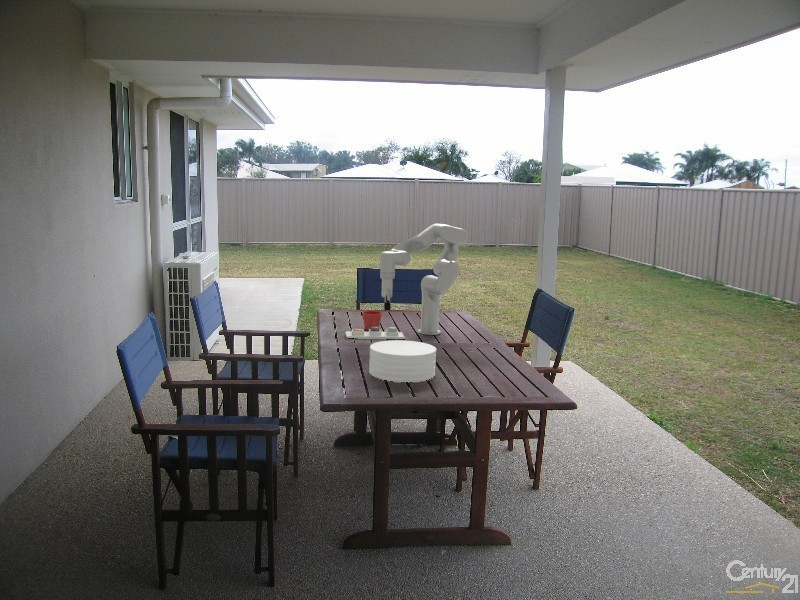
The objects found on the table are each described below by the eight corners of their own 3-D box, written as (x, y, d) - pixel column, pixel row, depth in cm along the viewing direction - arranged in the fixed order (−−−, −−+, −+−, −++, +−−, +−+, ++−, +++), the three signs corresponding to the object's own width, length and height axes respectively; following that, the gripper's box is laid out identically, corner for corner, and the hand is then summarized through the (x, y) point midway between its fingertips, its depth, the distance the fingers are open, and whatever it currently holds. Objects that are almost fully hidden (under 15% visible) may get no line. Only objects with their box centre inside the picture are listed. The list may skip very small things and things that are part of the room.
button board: (345, 334, 371) (345, 327, 370) (401, 334, 374) (401, 328, 374) (346, 339, 359) (346, 332, 358) (404, 339, 363) (404, 333, 362)
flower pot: (358, 330, 382) (359, 312, 380) (366, 326, 392) (366, 309, 390) (377, 332, 378) (377, 314, 377) (383, 328, 389) (384, 311, 387)
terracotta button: (353, 332, 367) (353, 328, 367) (361, 332, 368) (361, 328, 367) (353, 334, 363) (353, 330, 362) (362, 334, 363) (362, 330, 363)
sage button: (387, 330, 369) (387, 326, 369) (395, 330, 370) (395, 326, 369) (388, 332, 365) (388, 328, 365) (396, 332, 365) (396, 328, 365)
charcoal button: (370, 330, 368) (370, 326, 368) (378, 330, 369) (378, 326, 368) (371, 332, 364) (371, 328, 363) (379, 332, 364) (379, 328, 364)
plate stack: (376, 363, 313) (377, 338, 311) (438, 368, 308) (439, 343, 306) (362, 379, 286) (363, 352, 284) (430, 385, 281) (431, 357, 279)
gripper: (379, 273, 369) (379, 307, 372) (381, 277, 355) (381, 312, 358) (393, 273, 370) (393, 307, 373) (396, 277, 355) (395, 312, 359)
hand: (387, 309), depth 365 cm, fingers closed
